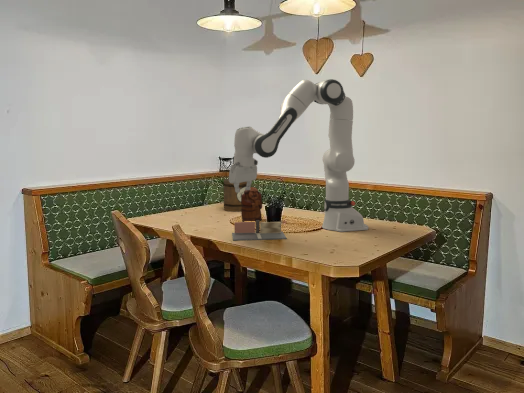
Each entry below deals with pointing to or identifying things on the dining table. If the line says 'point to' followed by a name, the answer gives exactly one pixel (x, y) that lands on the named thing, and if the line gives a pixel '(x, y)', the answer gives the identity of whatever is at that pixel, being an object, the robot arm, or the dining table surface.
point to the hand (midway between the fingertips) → (242, 191)
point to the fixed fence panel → (268, 227)
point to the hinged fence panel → (244, 227)
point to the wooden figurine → (251, 205)
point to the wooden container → (233, 196)
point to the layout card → (258, 236)
